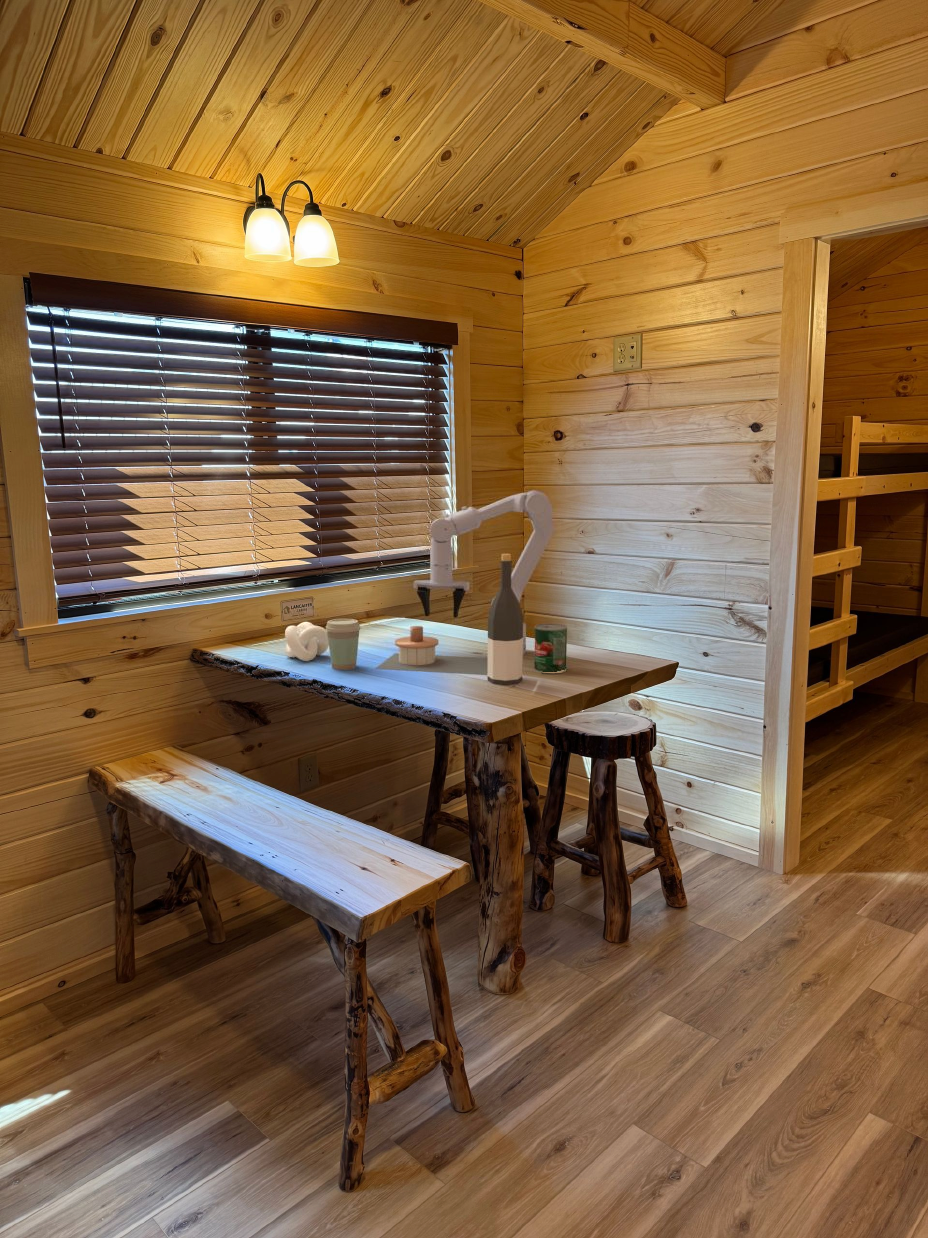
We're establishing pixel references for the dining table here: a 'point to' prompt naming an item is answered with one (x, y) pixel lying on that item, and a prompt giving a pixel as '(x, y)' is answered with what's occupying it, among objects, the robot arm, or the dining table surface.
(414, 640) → the lid
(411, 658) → the bowl
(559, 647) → the canned tomato
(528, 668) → the dining table surface
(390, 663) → the mat
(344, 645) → the coffee cup
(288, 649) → the white knot sculpture
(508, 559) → the wine bottle
